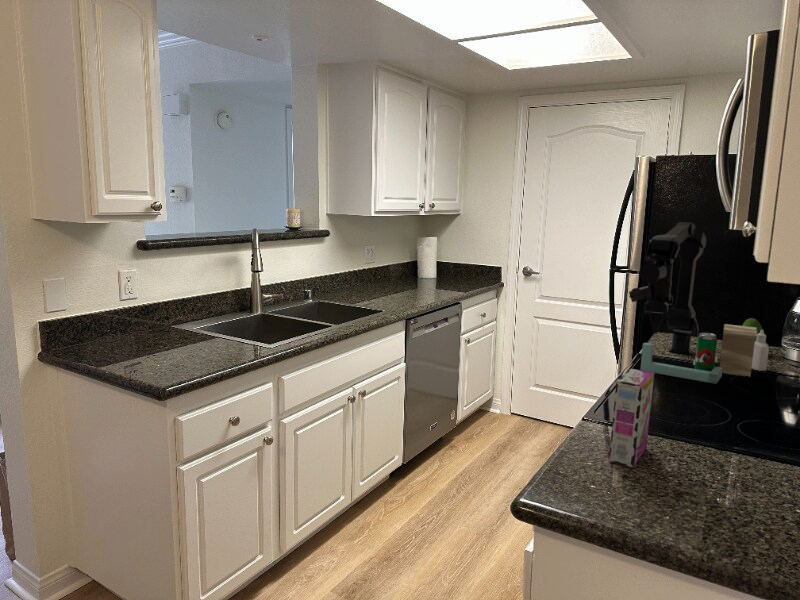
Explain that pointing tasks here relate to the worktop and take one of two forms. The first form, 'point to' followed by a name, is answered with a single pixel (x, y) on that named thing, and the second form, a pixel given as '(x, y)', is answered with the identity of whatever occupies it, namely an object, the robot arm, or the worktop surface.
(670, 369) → the crook tool
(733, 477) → the worktop surface
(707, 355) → the soda can
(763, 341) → the eye dropper bottle
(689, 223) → the robot arm
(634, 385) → the candy bar box
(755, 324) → the avocado
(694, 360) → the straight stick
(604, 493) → the worktop surface
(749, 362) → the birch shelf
